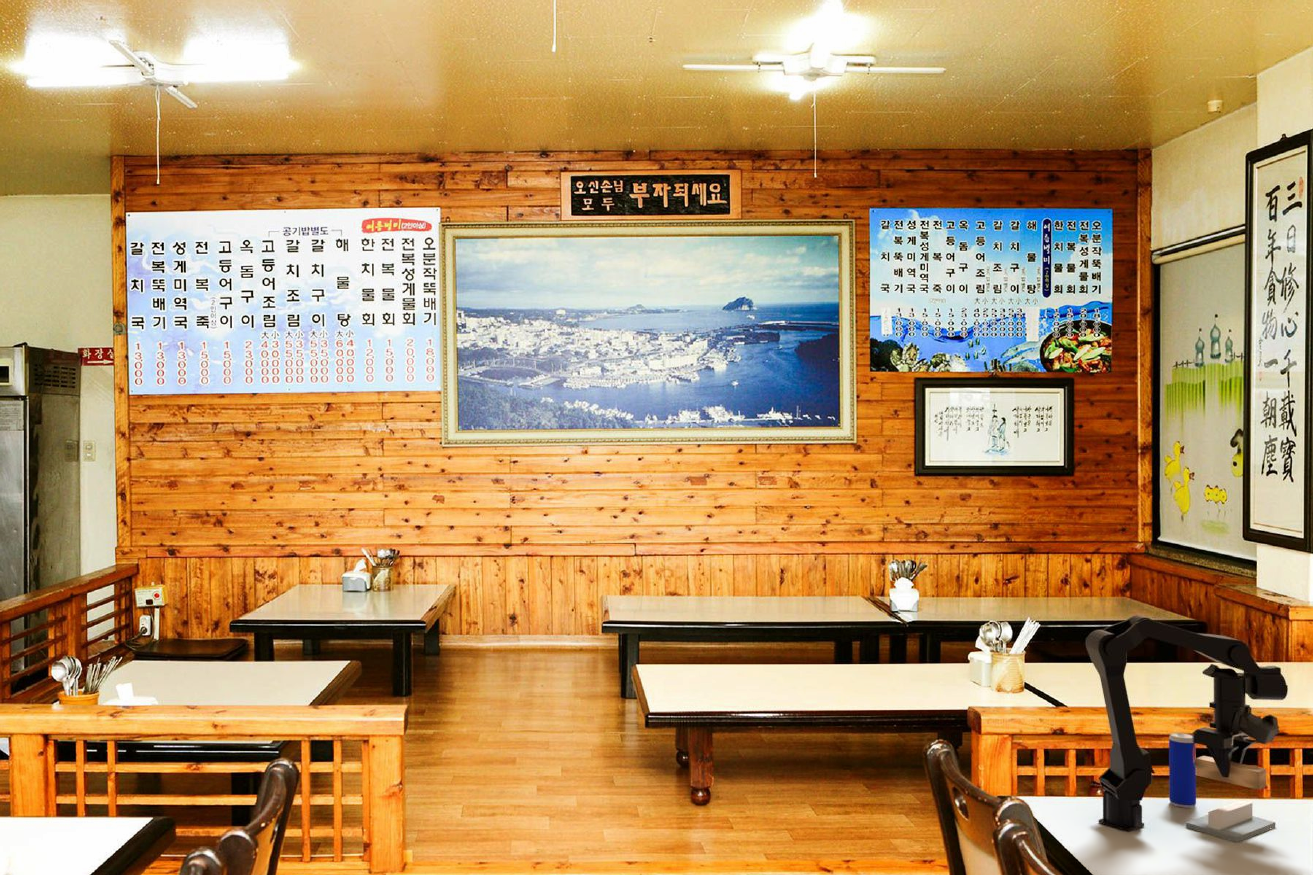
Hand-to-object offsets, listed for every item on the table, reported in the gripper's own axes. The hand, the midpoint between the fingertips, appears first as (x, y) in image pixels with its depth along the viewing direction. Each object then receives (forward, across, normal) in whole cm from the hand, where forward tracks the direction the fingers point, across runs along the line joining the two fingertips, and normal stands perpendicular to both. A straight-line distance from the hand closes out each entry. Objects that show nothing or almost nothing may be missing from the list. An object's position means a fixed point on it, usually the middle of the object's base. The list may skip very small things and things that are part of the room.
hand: (1230, 775), depth 205 cm
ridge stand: (+10, 0, 0) cm, 10 cm away
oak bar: (+1, 0, 0) cm, 1 cm away
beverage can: (+11, +6, +13) cm, 18 cm away
